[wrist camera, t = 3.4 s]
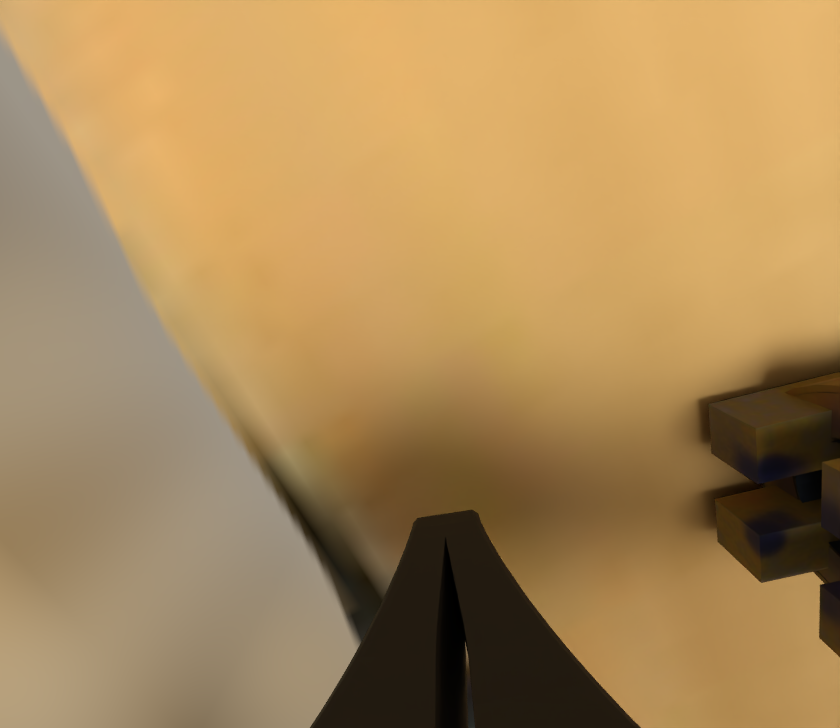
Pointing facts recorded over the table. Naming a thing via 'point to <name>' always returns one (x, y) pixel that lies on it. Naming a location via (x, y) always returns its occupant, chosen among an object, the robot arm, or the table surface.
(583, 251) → the table surface
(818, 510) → the pipe connector
